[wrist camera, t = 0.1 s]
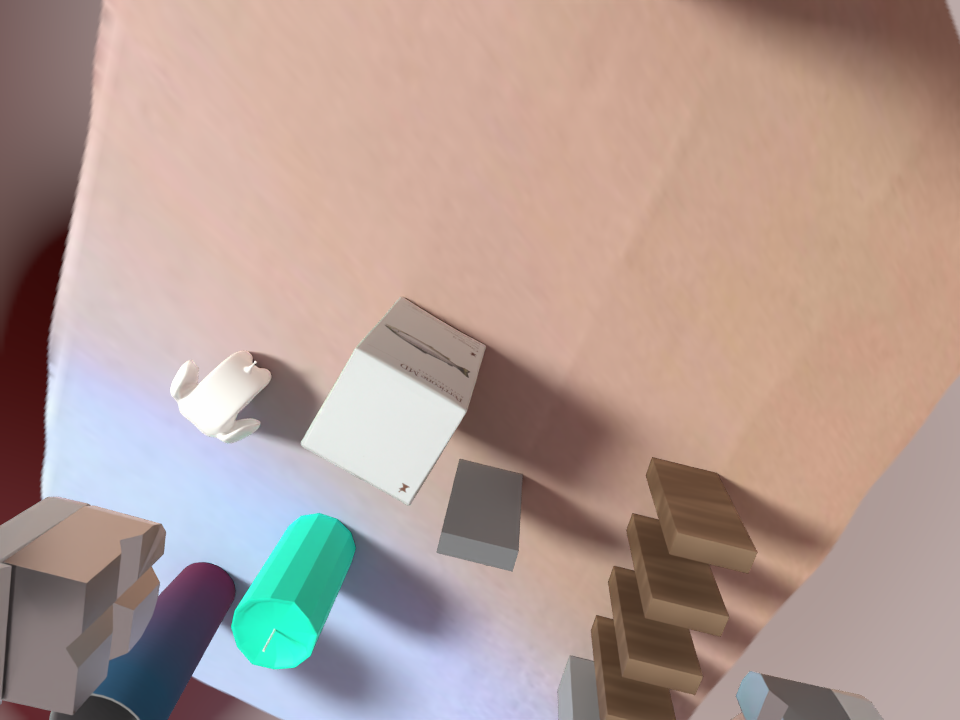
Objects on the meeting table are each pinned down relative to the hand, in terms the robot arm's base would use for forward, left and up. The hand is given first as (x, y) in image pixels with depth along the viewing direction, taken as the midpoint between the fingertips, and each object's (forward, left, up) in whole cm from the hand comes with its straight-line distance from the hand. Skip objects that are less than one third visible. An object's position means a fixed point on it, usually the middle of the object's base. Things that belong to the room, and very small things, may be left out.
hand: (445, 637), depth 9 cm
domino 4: (+30, +16, -39) cm, 51 cm away
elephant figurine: (+16, -18, -39) cm, 46 cm away
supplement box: (+11, -5, -39) cm, 41 cm away
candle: (+29, -10, -39) cm, 49 cm away
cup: (+36, -19, -39) cm, 56 cm away
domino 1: (+15, +16, -39) cm, 45 cm away
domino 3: (+25, +16, -39) cm, 49 cm away
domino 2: (+20, +16, -39) cm, 46 cm away
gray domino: (+19, +2, -39) cm, 43 cm away
